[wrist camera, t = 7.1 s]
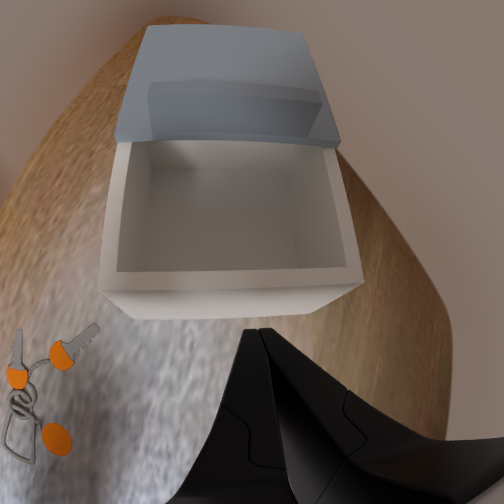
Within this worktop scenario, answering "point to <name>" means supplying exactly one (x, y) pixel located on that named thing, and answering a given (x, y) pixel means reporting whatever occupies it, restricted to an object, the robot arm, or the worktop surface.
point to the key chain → (18, 379)
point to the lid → (225, 88)
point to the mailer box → (226, 230)
